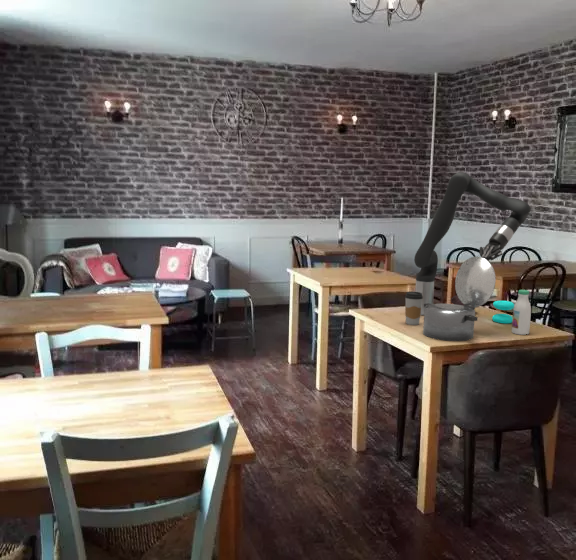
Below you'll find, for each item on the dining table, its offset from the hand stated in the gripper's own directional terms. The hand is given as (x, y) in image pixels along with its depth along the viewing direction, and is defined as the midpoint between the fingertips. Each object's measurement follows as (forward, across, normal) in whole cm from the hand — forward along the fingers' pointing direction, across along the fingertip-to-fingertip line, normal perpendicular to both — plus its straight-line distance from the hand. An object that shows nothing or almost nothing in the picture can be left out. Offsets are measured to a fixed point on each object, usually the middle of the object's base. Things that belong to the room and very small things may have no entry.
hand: (480, 264), depth 295 cm
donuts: (+3, -8, +41) cm, 42 cm away
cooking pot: (+34, 0, +10) cm, 35 cm away
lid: (+8, 0, +3) cm, 9 cm away
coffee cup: (+34, -24, +10) cm, 43 cm away
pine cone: (+3, -34, +41) cm, 53 cm away
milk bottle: (+10, +12, +34) cm, 37 cm away
